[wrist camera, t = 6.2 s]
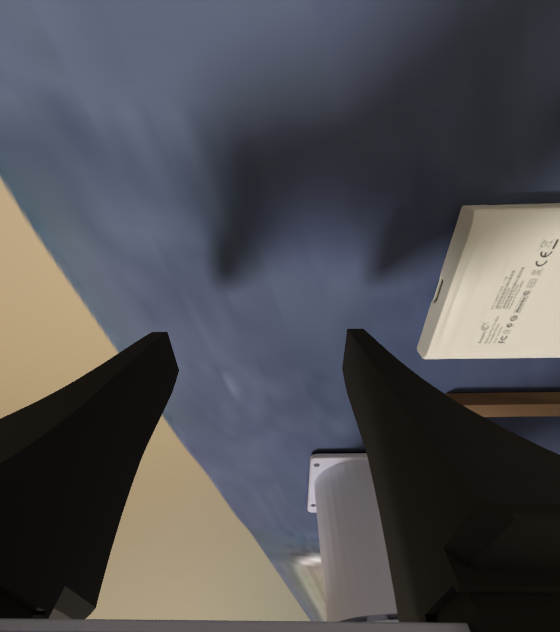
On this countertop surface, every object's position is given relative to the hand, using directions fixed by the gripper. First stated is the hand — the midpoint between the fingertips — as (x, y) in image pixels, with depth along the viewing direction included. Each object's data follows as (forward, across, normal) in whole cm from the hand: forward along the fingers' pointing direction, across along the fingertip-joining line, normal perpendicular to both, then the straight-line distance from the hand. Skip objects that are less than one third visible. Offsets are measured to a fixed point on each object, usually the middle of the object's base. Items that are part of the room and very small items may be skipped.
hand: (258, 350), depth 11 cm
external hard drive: (+5, -15, -1) cm, 16 cm away
